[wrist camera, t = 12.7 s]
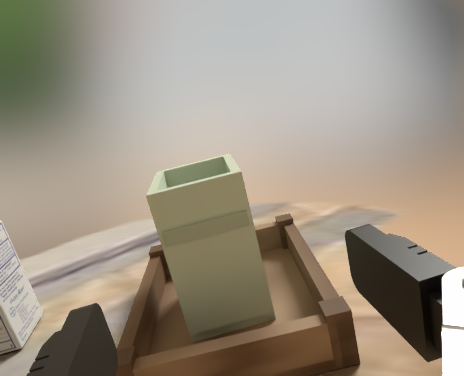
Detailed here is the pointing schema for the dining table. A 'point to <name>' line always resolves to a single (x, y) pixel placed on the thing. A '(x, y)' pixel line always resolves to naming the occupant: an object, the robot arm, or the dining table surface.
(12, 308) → the medicine box
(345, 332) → the walnut crate
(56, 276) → the dining table surface
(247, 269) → the small square vase
